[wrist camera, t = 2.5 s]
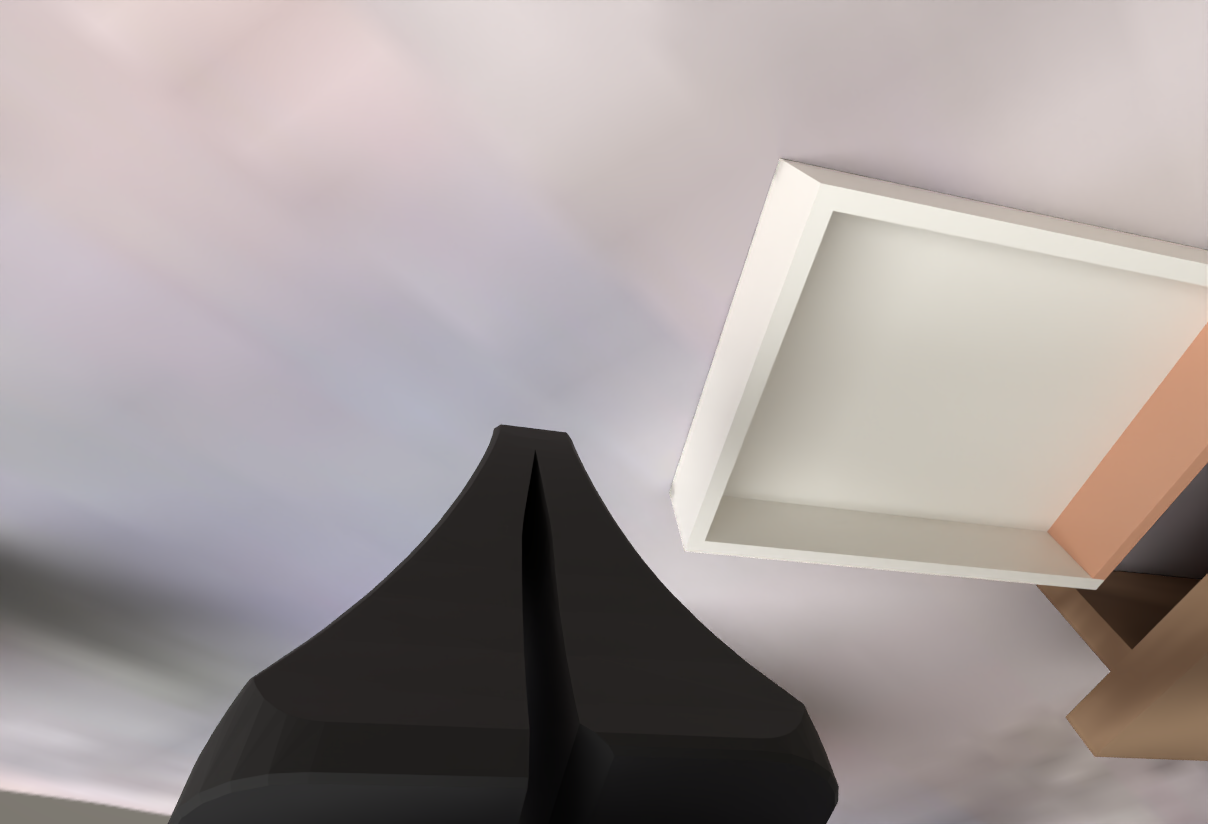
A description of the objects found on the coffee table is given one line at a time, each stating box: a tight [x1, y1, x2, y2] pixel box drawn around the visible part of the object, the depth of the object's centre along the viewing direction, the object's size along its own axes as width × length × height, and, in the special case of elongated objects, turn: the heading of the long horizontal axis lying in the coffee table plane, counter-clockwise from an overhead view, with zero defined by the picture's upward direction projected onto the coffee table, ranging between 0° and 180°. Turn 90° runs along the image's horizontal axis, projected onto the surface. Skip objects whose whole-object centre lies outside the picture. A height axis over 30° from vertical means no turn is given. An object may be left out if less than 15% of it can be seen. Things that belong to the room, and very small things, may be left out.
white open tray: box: [669, 158, 1208, 590], centre depth 19 cm, size 11×15×3 cm
